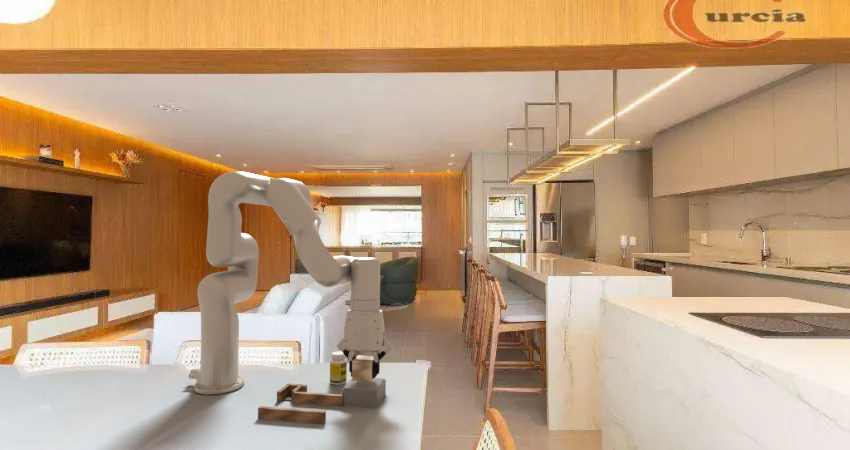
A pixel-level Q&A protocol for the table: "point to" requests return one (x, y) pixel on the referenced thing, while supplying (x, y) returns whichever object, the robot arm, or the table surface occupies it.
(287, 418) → the channel
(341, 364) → the supplement bottle
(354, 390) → the stand
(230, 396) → the table surface
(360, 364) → the block
